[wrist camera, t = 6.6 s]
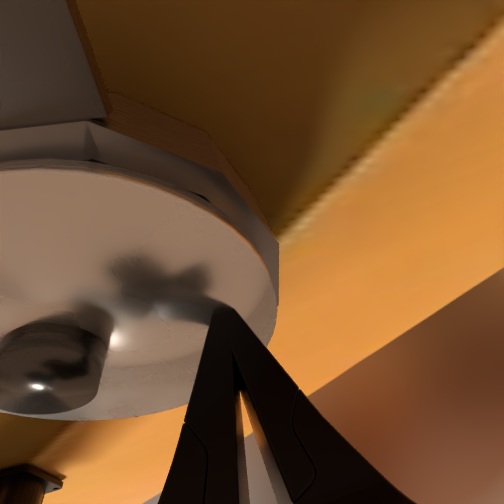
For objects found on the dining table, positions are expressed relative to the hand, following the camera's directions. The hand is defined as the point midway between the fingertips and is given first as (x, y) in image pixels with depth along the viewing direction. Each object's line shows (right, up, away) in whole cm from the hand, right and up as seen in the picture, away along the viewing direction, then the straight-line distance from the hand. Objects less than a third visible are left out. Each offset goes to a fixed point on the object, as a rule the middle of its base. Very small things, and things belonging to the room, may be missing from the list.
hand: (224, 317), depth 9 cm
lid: (-4, 0, 0) cm, 4 cm away
